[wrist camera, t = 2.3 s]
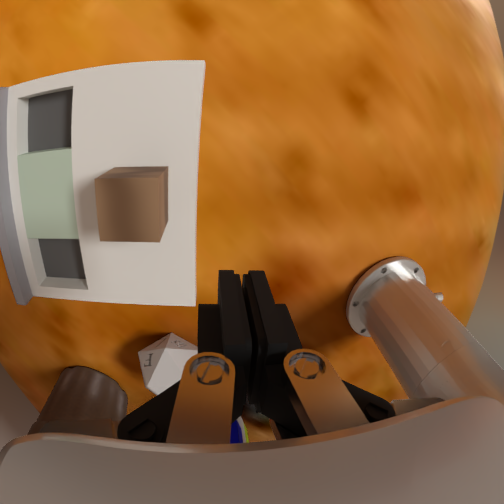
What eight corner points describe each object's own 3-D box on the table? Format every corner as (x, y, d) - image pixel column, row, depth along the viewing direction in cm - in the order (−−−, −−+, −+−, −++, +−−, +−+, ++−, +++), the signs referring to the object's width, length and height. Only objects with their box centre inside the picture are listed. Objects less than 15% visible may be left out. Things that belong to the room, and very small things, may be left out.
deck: (205, 65, 23) (204, 55, 18) (196, 293, 33) (194, 317, 29) (11, 90, 19) (-12, 90, 15) (32, 284, 29) (17, 304, 25)
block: (168, 166, 24) (158, 177, 19) (168, 220, 26) (159, 242, 22) (114, 167, 23) (94, 179, 19) (117, 219, 25) (99, 241, 21)
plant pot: (44, 341, 33) (5, 426, 19) (144, 372, 38) (130, 471, 23) (56, 399, 39) (34, 469, 25) (136, 423, 44) (128, 499, 29)
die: (207, 320, 35) (155, 348, 27) (231, 381, 35) (188, 420, 26) (163, 330, 39) (112, 353, 30) (185, 384, 39) (141, 416, 30)
